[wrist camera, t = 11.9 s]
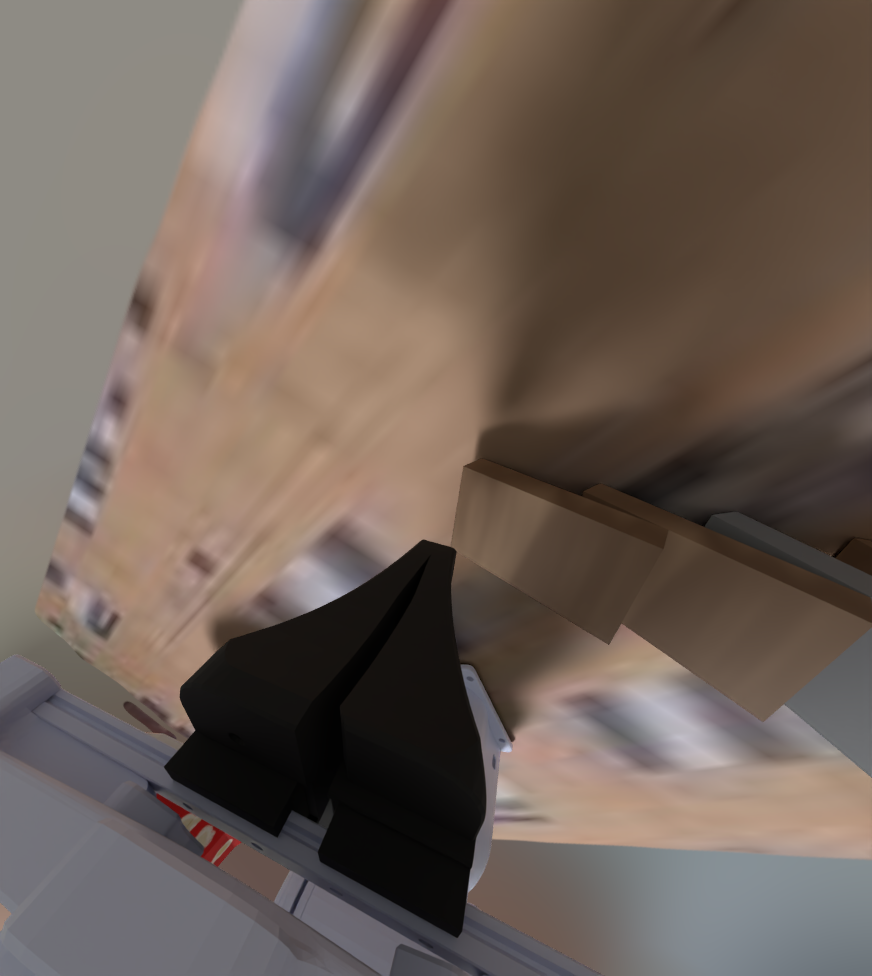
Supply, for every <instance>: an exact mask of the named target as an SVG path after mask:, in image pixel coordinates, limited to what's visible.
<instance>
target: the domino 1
mask: <svg viewBox="0 0 872 976" xmlns="http://www.w3.org/2000/svg"><path fill="white" fill-rule="evenodd" d="M668 531H669V530H668V529H665V528H663V527H660V526H658V525H655V524H652V523H650V522H647V521H645V520H642V519H639V518H637V517H634V516H631V515H629V514H626V513H624V512H621V511H618V510H616V509H613V508H611V507H608V506H605V505H603V504H600V503H597V502H595V501H592V500H590V499H587V498H584V497H582V496H579V495H577V494H574V493H571V492H569V491H566V490H564V489H561V488H558V487H556V486H553V485H550V484H548V483H545V482H543V481H540V480H537V479H535V478H532V477H530V476H527V475H524V474H522V473H519V472H516V471H514V470H511V469H509V468H506V467H503V466H501V465H498V464H496V463H493V462H490V461H488V460H485V459H483V458H482V459H479V460H477V461H475V462H472V463H470V464H468V465H465V466H463V472H462V479H461V485H460V491H459V498H458V504H457V510H456V516H455V523H454V529H453V535H452V541H451V547H452V548H454V549H455V550H456V551H457V553H459V554H461V555H462V556H464V557H466V558H467V559H469V560H471V561H472V562H474V563H476V564H477V565H479V566H480V567H482V568H484V569H485V570H487V571H489V572H490V573H492V574H494V575H495V576H497V577H498V578H500V579H502V580H503V581H505V582H507V583H508V584H510V585H512V586H513V587H515V588H516V589H518V590H520V591H521V592H523V593H525V594H526V595H528V596H530V597H531V598H533V599H535V600H536V601H538V602H539V603H541V604H543V605H544V606H546V607H548V608H549V609H551V610H553V611H554V612H556V613H557V614H559V615H561V616H562V617H564V618H566V619H567V620H569V621H571V622H572V623H574V624H575V625H577V626H579V627H580V628H582V629H584V630H585V631H587V632H589V633H590V634H592V635H594V636H595V637H597V638H598V639H600V640H602V641H603V642H605V643H607V644H608V645H609V644H610V642H611V641H612V639H613V637H614V635H615V633H616V632H617V630H618V628H619V626H620V625H621V623H622V621H623V619H624V618H625V616H626V614H627V612H628V611H629V609H630V607H631V605H632V604H633V602H634V600H635V598H636V597H637V595H638V593H639V591H640V590H641V588H642V586H643V584H644V582H645V581H646V579H647V577H648V575H649V574H650V572H651V570H652V568H653V567H654V565H655V563H656V561H657V560H658V558H659V556H660V554H661V553H662V551H663V549H664V545H665V542H666V538H667V535H668Z"/></svg>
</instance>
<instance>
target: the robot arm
mask: <svg viewBox="0 0 872 976" xmlns="http://www.w3.org/2000/svg"><path fill="white" fill-rule="evenodd" d="M456 552H457V551H456V550H455V549H454V548H452V547H448V546H445V545H441V544H438V543H434V542H430V541H427V540H422V541H420V542H419V543H418V544H416V545H415V546H414V547H413V548H412V549H411V550H409V551H408V552H407V553H406V554H405V555H403V556H402V557H401V558H400V559H398V560H397V561H396V562H394V563H393V564H392V565H390V566H389V567H388V568H386V569H385V570H384V571H382V572H381V573H379V574H378V575H376V576H375V577H373V578H372V579H370V580H369V581H367V582H366V583H364V584H362V585H361V586H359V587H358V588H356V589H354V590H352V591H351V592H349V593H347V594H345V595H343V596H342V597H340V598H338V599H336V600H334V601H332V602H330V603H328V604H326V605H324V606H322V607H320V608H317V609H315V610H313V611H311V612H308V613H306V614H303V615H301V616H298V617H296V618H293V619H291V620H288V621H286V622H283V623H280V624H278V625H275V626H272V627H269V628H266V629H262V630H259V631H256V632H253V633H250V634H246V635H243V636H240V637H236V638H233V639H230V640H229V641H228V642H227V643H226V644H225V645H224V646H222V647H221V648H220V649H219V650H218V651H217V652H216V653H215V654H214V655H213V656H212V657H211V658H210V659H209V660H208V661H207V662H206V663H205V664H204V665H203V666H202V667H201V668H200V669H199V670H198V671H196V672H195V673H194V674H193V675H192V676H191V677H190V678H189V679H188V680H187V681H186V682H185V683H184V684H183V685H182V686H181V689H180V700H181V702H182V705H183V707H184V709H185V711H186V713H187V715H188V717H189V719H190V721H191V723H192V725H193V727H194V728H195V730H196V731H195V732H194V733H193V734H192V735H191V736H190V737H189V739H188V740H187V741H186V742H185V743H184V744H183V745H182V746H181V748H180V749H179V750H177V749H175V748H173V747H171V746H170V745H168V744H166V743H164V742H162V741H160V740H158V739H156V738H154V737H152V736H151V735H149V734H147V733H145V732H143V731H141V730H139V729H137V728H135V727H133V726H132V725H130V724H128V723H126V722H124V721H122V720H120V719H118V718H117V717H115V716H113V715H111V714H109V713H107V712H105V711H103V710H101V709H100V708H98V707H95V706H94V705H92V704H90V703H88V702H86V701H84V700H83V699H80V698H79V697H77V696H75V695H73V694H71V693H69V692H67V691H65V690H64V689H62V688H61V685H60V683H59V682H58V680H57V679H56V678H55V677H54V676H53V675H52V674H51V673H50V672H49V671H48V670H46V669H45V668H43V667H42V666H40V665H38V664H36V663H34V662H32V661H30V660H28V659H26V658H24V657H22V656H21V655H12V656H11V657H9V658H7V659H6V660H4V661H2V662H1V663H0V903H1V904H2V905H3V906H5V908H6V909H8V910H9V911H10V912H11V913H12V914H11V916H9V918H8V919H7V920H6V921H5V923H4V926H3V929H2V931H1V932H0V976H604V975H602V974H601V973H599V972H597V971H595V970H593V969H591V968H589V967H587V966H585V965H584V964H582V963H580V962H578V961H576V960H574V959H572V958H570V957H568V956H566V955H564V954H563V953H561V952H559V951H557V950H555V949H553V948H551V947H549V946H548V945H546V944H544V943H542V942H540V941H538V940H536V939H534V938H533V937H531V936H529V935H527V934H525V933H523V932H521V931H519V930H517V929H516V928H513V927H512V926H510V925H508V924H506V923H504V922H502V921H500V920H498V919H497V918H495V917H493V916H491V915H489V914H487V913H485V912H483V911H481V910H480V909H478V908H477V906H475V905H473V904H471V903H467V897H468V892H469V891H470V890H471V889H472V888H473V887H474V886H475V885H476V883H477V882H478V880H479V879H480V877H481V875H482V873H483V871H484V870H485V867H486V864H487V862H488V858H489V854H490V850H491V843H492V833H493V823H494V812H495V802H496V792H497V782H498V771H499V761H500V751H503V752H511V751H512V746H513V745H512V743H511V741H510V739H509V737H508V735H507V733H506V731H505V729H504V727H503V725H502V723H501V721H500V719H499V717H498V715H497V713H496V711H495V709H494V707H493V705H492V703H491V701H490V699H489V697H488V695H487V693H486V691H485V689H484V687H483V685H482V682H481V680H480V678H479V676H478V674H477V672H476V670H475V669H474V668H473V667H472V666H471V665H460V661H459V656H458V651H457V646H456V640H455V633H454V626H453V616H452V603H451V581H452V575H453V570H454V564H455V558H456ZM157 793H158V794H159V795H161V796H163V797H165V798H166V799H168V800H170V801H172V802H173V803H175V804H177V805H178V806H180V807H182V808H184V809H185V810H187V811H189V812H191V813H192V814H194V815H196V816H197V817H199V818H201V819H203V820H204V821H206V822H208V823H210V824H211V825H213V826H215V827H216V828H218V829H220V830H222V831H223V832H225V833H227V834H229V835H230V836H232V837H234V838H235V839H237V840H239V841H241V842H242V843H244V844H246V845H248V846H249V847H251V848H253V849H255V850H256V851H258V852H260V853H261V854H263V855H265V856H267V857H268V858H270V859H272V860H273V861H275V862H277V863H279V864H281V865H282V866H284V867H286V868H287V869H289V870H290V872H289V873H288V875H287V877H286V879H285V881H284V883H283V885H282V886H281V888H280V890H279V892H278V894H277V896H276V899H275V901H274V902H273V901H271V900H269V899H268V898H266V897H264V896H263V895H262V894H260V893H259V892H257V891H255V890H254V889H252V888H251V887H249V886H247V885H246V884H244V883H243V882H241V881H240V880H238V879H237V878H235V877H233V876H232V875H230V874H228V873H227V872H225V871H223V870H222V869H220V868H219V867H217V866H215V865H214V864H212V863H210V862H209V861H207V860H205V859H204V858H202V857H201V855H202V854H203V852H204V846H203V845H202V844H201V843H200V842H199V841H198V840H197V839H196V838H195V837H194V836H193V835H192V834H191V833H190V832H189V831H188V830H187V828H186V827H185V826H184V824H183V823H182V821H181V818H180V816H179V815H178V814H177V813H176V812H174V811H173V810H172V809H170V808H169V807H168V806H166V805H165V804H164V803H162V802H161V801H160V800H158V799H157V798H156V796H157Z"/></svg>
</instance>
